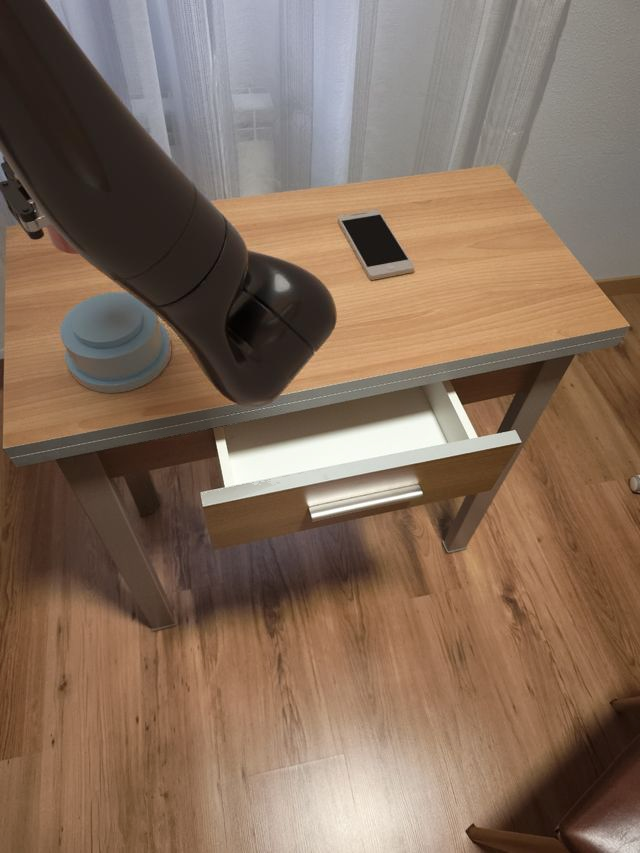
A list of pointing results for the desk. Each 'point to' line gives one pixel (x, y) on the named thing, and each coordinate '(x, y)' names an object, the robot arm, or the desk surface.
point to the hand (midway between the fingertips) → (44, 152)
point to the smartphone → (375, 244)
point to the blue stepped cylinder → (114, 343)
